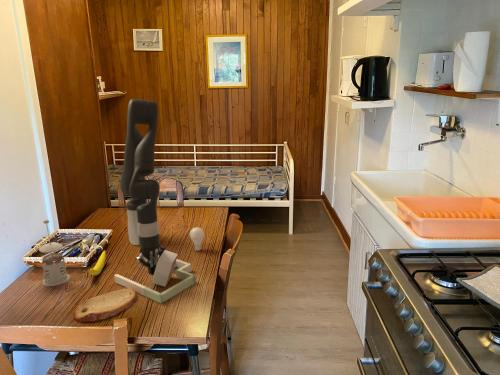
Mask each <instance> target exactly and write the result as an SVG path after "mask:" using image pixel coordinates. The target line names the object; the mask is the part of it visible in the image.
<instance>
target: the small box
mask: <svg viewBox="0 0 500 375" xmlns="http://www.w3.org/2000/svg"><path fill="white" fill-rule="evenodd" d="M178 256H179V255H178V253H175V252H172V251H169V250H166V249H165V250H164V252H163V253H162V255H161V256H160V258H159V259H158V262H157V266H156V269H155V272H154V275H153V276H152V279H151V283H153V284H155V285H158V286H161V287H164V288H166V286H167V285H168V284H169V281H170V280H171V278H172V274H173V269H174V265H175V262H176V259H178Z"/></svg>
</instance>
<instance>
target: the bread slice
mask: <svg viewBox="0 0 500 375" xmlns="http://www.w3.org/2000/svg"><path fill="white" fill-rule="evenodd" d="M137 299H138V293H137V292H135V291H134V290H133V289H129V288H122V289H117V290H113V291H109V292H106V293H103V294H100V295H96V296H94V297H90V298H88V299H84V300H83V301H81V303H79V305H78V306H77V307H76V309H75V310H74V312H73V320H74V321H75V322H77V323H80V324H81V323H87V322H88V323H89V322H98V321H102V320H106V319H109V318H110V317H111V318H112V317H113V316H116V315H118V314H120V313H121V312H123V311H125V310H127V309H128V308H130V307H131V306H133V304H134V303H135V302H136V301H137Z"/></svg>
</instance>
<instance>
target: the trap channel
mask: <svg viewBox="0 0 500 375" xmlns="http://www.w3.org/2000/svg"><path fill="white" fill-rule="evenodd" d="M158 257H159V255H158ZM156 266H157V264H156ZM191 272H192V263H190V262H186V261H184V260H181V259H178V258H177V259H176V262H175V265H174V269H173V272H172V274H176V278H178V279H181V281H179V282H177V283H176V284H174V285H173V286H170V287H169V288H167V289H166V290H164V291H162V292H159V291H156V290H154V289H152V288H150V287H148V286H145V285H143V284H141V283H138V282H137V281H134V280H131V279H129V278H127V277H125V276H122V275H120V274H119V273H118V274H117V273H116V274H114V275H113V277H114V282H115V283H116V284H118V285H120V286H122V287H123V288H125V289H127V288H129V289H133V290H134V291H135V292H136V294H140V295H141V296H143V297H144V296H145V298H148V299H150V300H153V301H155V302H157V303H158V304H163V303H164V302H166V301H168V300H169V299H171V298H172V297H175V296H177V294H179V293H181V292H182V291H184V290H186V289H187V288H189V287H191V286H193V285H194V284H195V283H197V280H196V279H197V278H196V276H197V275H196V274H193V273H191Z"/></svg>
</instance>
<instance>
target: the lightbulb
mask: <svg viewBox="0 0 500 375" xmlns="http://www.w3.org/2000/svg"><path fill="white" fill-rule="evenodd" d="M204 236H205V232H204V230H203V229H202V228H201V227H198V226H197V227H196V226H195V227H193V228H192V229H191V230H190V231H189V237H190V239H191V241H192V243H193V245H194V250H195V251H197V252H199V251H200V250H202V249H201V248H202V247H201V244H202V240H203V239H204Z"/></svg>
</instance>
